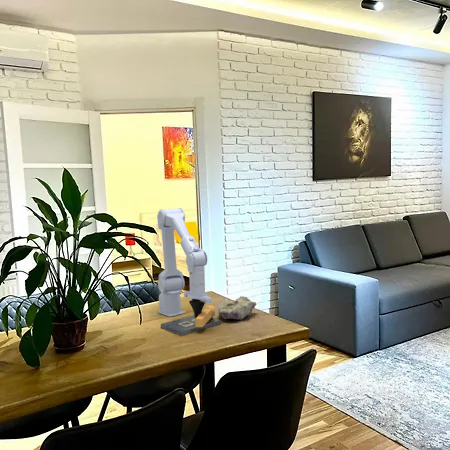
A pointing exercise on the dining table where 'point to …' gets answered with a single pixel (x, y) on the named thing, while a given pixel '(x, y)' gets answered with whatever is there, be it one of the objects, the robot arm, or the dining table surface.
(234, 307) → the geode
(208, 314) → the orange rectangular block
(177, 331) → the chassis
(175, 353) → the dining table surface
